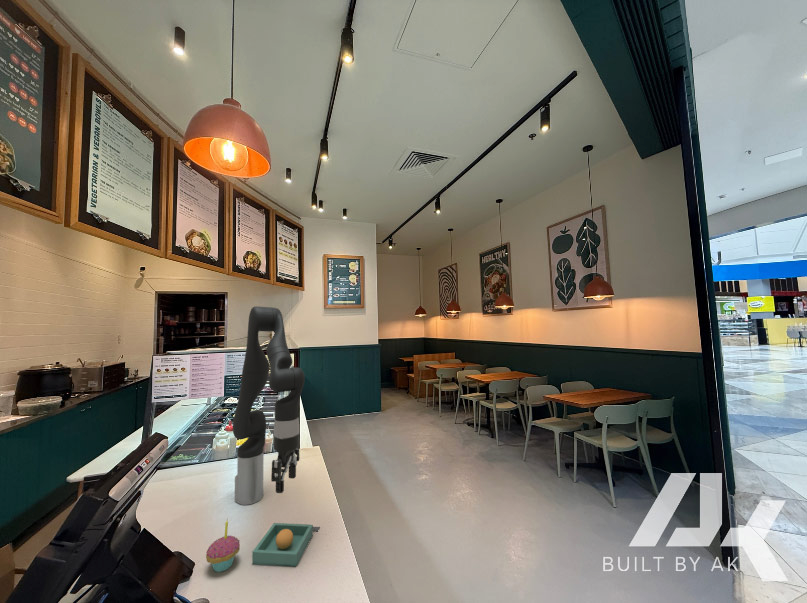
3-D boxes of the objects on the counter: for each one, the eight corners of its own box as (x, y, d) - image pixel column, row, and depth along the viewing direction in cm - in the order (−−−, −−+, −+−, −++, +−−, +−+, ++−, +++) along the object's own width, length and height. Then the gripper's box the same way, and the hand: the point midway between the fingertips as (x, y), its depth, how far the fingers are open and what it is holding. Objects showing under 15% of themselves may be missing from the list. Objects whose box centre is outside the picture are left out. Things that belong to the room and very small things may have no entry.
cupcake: (215, 555, 97) (215, 514, 98) (244, 553, 98) (245, 512, 99) (199, 579, 89) (200, 533, 89) (232, 576, 90) (232, 531, 90)
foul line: (274, 529, 109) (274, 528, 109) (276, 525, 111) (276, 524, 111) (318, 531, 108) (317, 530, 108) (320, 527, 110) (320, 526, 110)
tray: (252, 564, 94) (252, 551, 94) (274, 533, 107) (274, 522, 107) (296, 567, 93) (296, 554, 93) (312, 535, 106) (312, 524, 106)
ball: (272, 552, 98) (272, 535, 98) (280, 540, 102) (280, 524, 103) (288, 553, 97) (288, 536, 97) (295, 541, 102) (295, 525, 102)
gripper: (285, 424, 110) (285, 473, 110) (263, 441, 96) (262, 497, 96) (307, 425, 109) (306, 474, 109) (287, 442, 95) (287, 498, 95)
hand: (286, 484), depth 102 cm, fingers open, 8 cm apart
